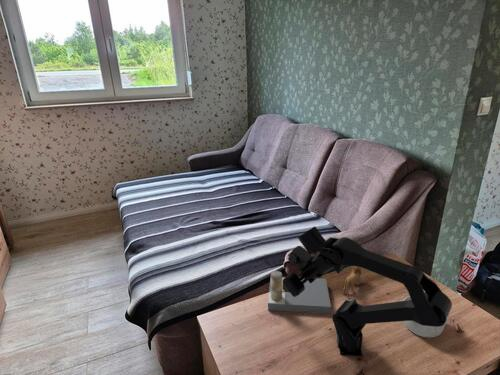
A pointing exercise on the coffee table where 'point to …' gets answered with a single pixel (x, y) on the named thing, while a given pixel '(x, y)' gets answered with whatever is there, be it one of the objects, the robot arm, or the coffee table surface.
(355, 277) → the lion figurine
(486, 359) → the coffee table surface
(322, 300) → the gray peg hole board
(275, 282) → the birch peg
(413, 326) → the ramekin
